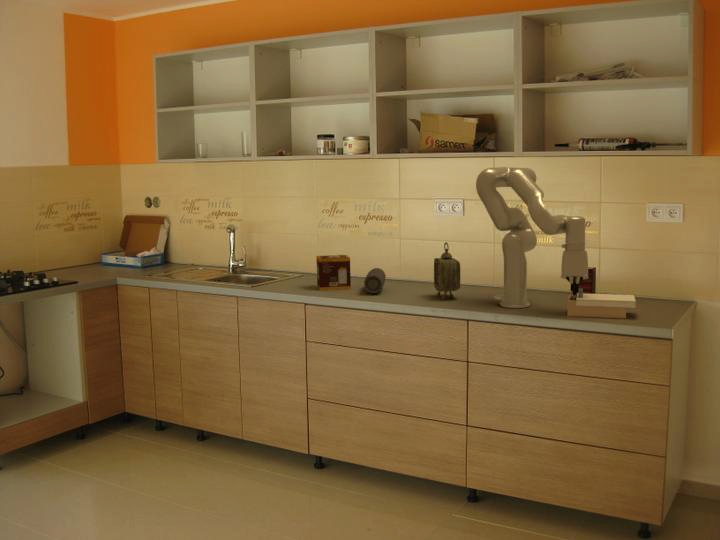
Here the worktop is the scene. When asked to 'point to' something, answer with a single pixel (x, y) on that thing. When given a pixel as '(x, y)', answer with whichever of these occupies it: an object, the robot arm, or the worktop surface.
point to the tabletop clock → (446, 273)
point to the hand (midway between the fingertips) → (574, 293)
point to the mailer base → (594, 310)
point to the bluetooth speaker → (374, 280)
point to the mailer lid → (605, 300)
